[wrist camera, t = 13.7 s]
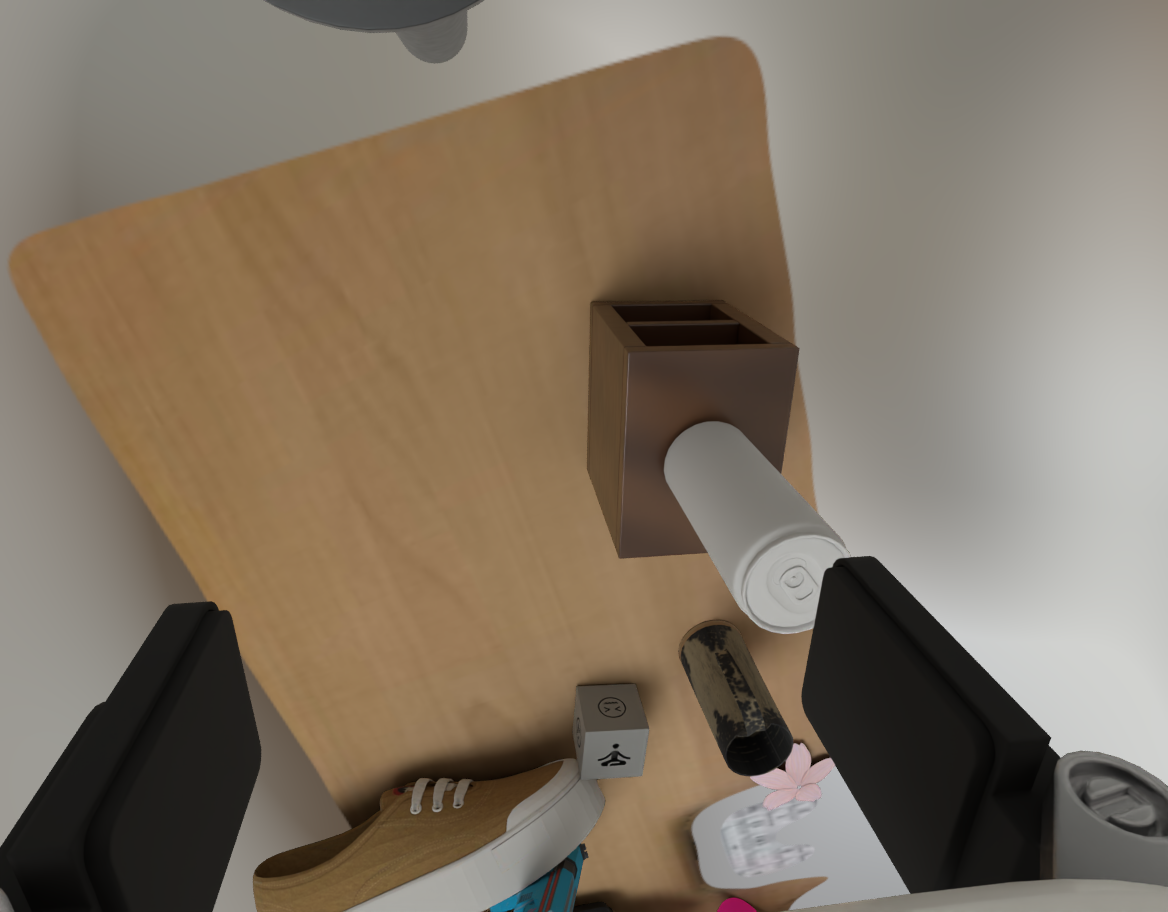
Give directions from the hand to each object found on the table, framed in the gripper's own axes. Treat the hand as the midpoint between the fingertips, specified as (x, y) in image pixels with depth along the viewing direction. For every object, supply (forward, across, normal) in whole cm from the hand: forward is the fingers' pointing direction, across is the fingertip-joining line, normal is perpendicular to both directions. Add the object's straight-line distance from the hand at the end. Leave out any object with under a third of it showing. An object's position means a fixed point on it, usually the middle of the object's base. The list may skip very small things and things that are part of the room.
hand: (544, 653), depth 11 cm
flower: (+34, -27, +47) cm, 64 cm away
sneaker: (+29, +5, +49) cm, 57 cm away
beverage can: (+24, -11, +8) cm, 28 cm away
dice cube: (+36, -8, +36) cm, 52 cm away
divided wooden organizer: (+36, -11, +8) cm, 39 cm away
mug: (+36, -17, +30) cm, 50 cm away
